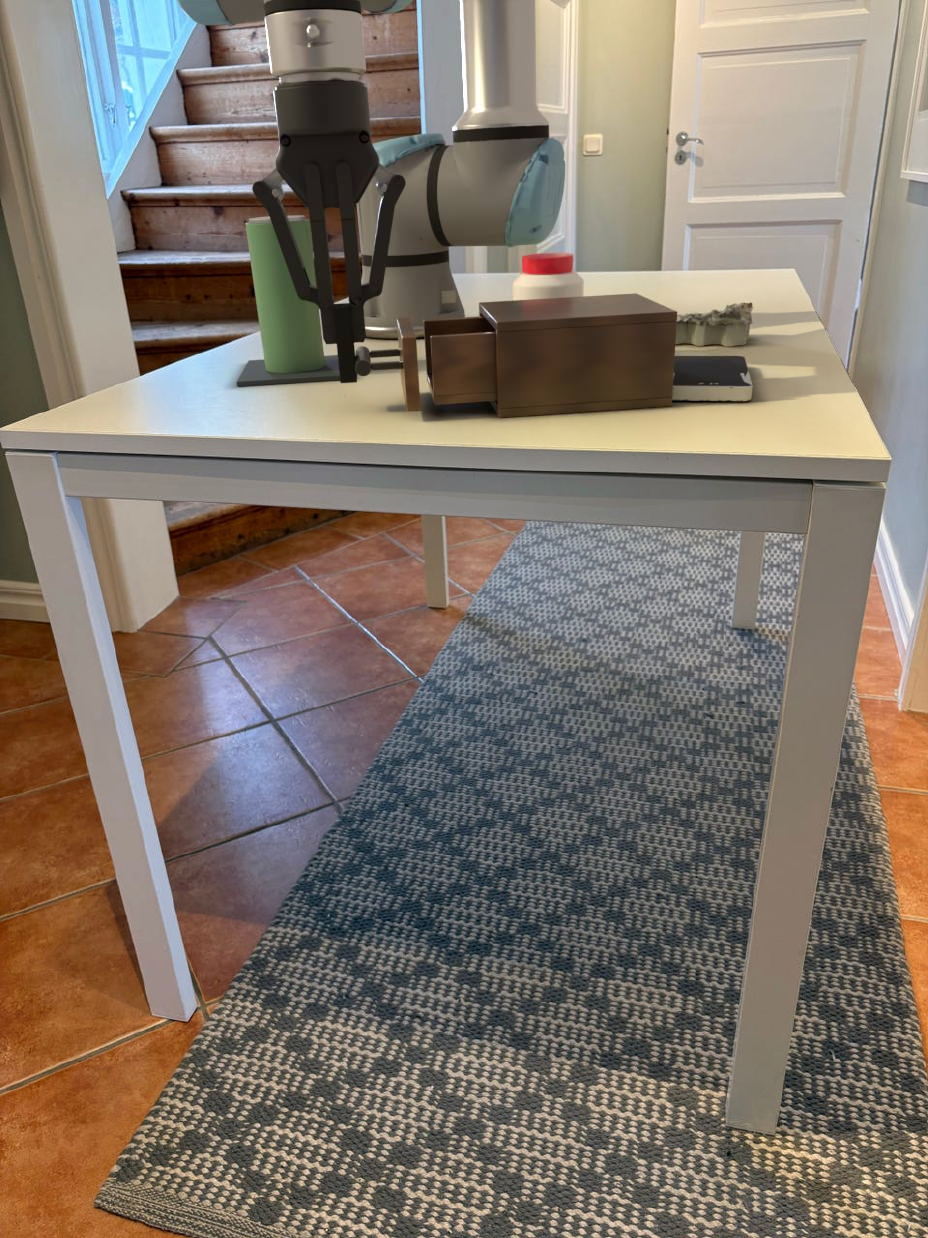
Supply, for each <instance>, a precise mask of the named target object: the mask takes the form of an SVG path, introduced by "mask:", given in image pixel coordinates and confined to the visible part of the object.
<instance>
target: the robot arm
mask: <svg viewBox="0 0 928 1238" xmlns="http://www.w3.org/2000/svg"><path fill="white" fill-rule="evenodd" d="M412 2H414V0H177V3H178V5H179V7H180V9H181V10H182V11H183V13H184V14H185V15H186V16H187V17H188V18H189V19H190V20H192V21H193V22H195V23H197V24H199V25H203V26H221V25H225V26H226V25H227V26H229V27H233V26H235V25H237V24H245V23H253V22H261V21H264V23H265V32H266V42H267V49H268V50H267V51H268V57H269V67H270V74H271V75H272V76H273V77H274V78H275V79H279V82H278V85H276V86H275V87H274V88H275V89H274V90H273V100H274V109H275V119H276V125H277V135H278V142H279V143H278V152H277V154H276V156H275V163H274V164H275V168H274V169H273V170H272V171H270V173H268V174H267V175H265V176H264V177H263V178H262V179H261V180H257V181H255V182H254V183H253V184H252V187H251V189H252V193H253V195H254V196H255V197H256V198H257V199H258V201H259V203H260V204H261V205H262V207H263V208H264V209H265V211H266V212H267V214H268V217H270V219H271V222H272V225H273V228H274V231H275V234H276V236H277V239H278V242H279V245H280V248H281V250H282V253H283V256H284V259H285V262H286V265H287V267H288V270H289V273H290V276H291V279H292V281H293V284H294V287H295V290H296V293H297V296H298V297H299V298H300V299H301V300H303V301H305V300H306V301H309V302H312V303H315V304H316V305H317V306H318V307H319V314H320V323H321V332H322V340H323V341H324V343H325V345H336V353H337V355H338V363H339V372H340V380H339V381H340V384H352V383H358V374H357V373H356V370H355V352H356V350H355V343H365V341H366V338H372V339H373V338H374V339H398V329H397V318H406V317H409V319H410V321H411V324H412V327H413V330H414V333H415V336H416V339H417V338H424V320H428V319H445V318H462V317H466V313H465V308H464V305H463V302H462V299H461V296H460V294H459V291H458V288H457V285H456V283H455V279H454V277H453V274H452V271H451V267H450V265H451V264H450V247H507V248H508V249H509V248H514V247H517V246H531V245H538V244H541V243H543V242H544V241H545V240H546V239H547V238H548V237H549V236H550V235H551V232H552V231H553V230H554V227H555V226H556V223H557V220H558V217H559V214H560V211H561V207H562V203H563V196H564V192H565V191H564V189H565V183H566V182H565V181H566V161H565V150H564V146H563V144H562V142H561V141H560V140H558V139H555V138H554V137H550V121H549V120H548V119H547V117H545V115H543V114H542V112H541V111H540V110H539V109H538V106H537V52H536V51H537V49H536V47H537V46H536V45H537V44H536V41H537V40H536V39H537V38H536V37H537V36H536V32H537V31H536V0H459V11H460V13H459V14H460V37H461V59H462V60H461V61H462V83H463V85H462V86H463V108H464V109H463V112H462V114H461V116H460V117H459V118H458V120H457V121H456V122H455V124H454V125H453V126H452V144H449V145H448V144H446V140H445V137H444V136H443V134H442V133H440V132H429V133H419V134H415V135H407V136H401V137H397V138H392V139H387V140H383V141H377V142H374V143H373V140H372V131H371V128H372V127H371V117H370V115H371V114H370V103H369V90H368V86H366V84H365V83H364V82H361V81H360V76H363V75H364V74H365V73H366V72H367V65H366V64H367V63H366V52H365V51H366V50H365V36H364V26H363V15H362V10H363V11H367V12H369V13H370V14H373V15H378V14H395V13H396V12H397V13H398V12H400V11H402V10H404V9H406V8H407V7H408V6H409V5H411V4H412ZM283 181H284V182H285V183H286V185H287V186H288V187H289V188H290V189H291V191H292V192H293V193H294V194H295V196H296V197H297V199H299V200H300V202H301V203H302V204H303V205H304V206H305V207H306V208H307V209H308V216H309V223H310V232H311V241H312V250H313V259H314V268H315V278H316V286H312V285H311V283H310V280H309V278H308V275H307V272H306V269H305V266H304V263H303V260H302V257H301V254H300V252H299V249H298V246H297V243H296V240H295V237H294V234H293V231H292V228H291V225H290V223H289V220H288V217H287V216H288V214H287V212H286V209H285V206H284V205H283V203H282V201H283V199H284V197H285V190H284V188H283ZM355 206H356V207H355ZM331 207H333V208H336V209H339V214H340V216H339V217H340V224H341V233H342V246H343V255H344V266H345V277H346V285H347V298H348V302H344V303H343V302H342V303H335V299H334V296H335V295H334V288H333V287H334V286H333V276H332V268H331V258H330V247H329V237H328V228H327V214H326V209H329V208H331ZM356 211H357V212H356ZM356 213H357V218H356ZM357 222H358V228H357ZM357 229H358V230H357ZM358 234H359V240H358ZM359 244H360V245H359ZM359 246H360V252H359ZM360 254H361V255H360ZM360 256H361V263H360ZM361 266H362V267H361ZM361 268H362V275H361Z"/></svg>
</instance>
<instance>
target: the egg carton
mask: <svg viewBox="0 0 928 1238" xmlns="http://www.w3.org/2000/svg"><path fill="white" fill-rule="evenodd" d="M753 308H754V307H753V302H740V303H732V304H728V305H727V304H726V306H725V308H724V309H723V310H718V309H712V310H711V311H710V312H705V313H701V312H693V313H684V314H678V315H677V328H676V344H675V345H679V344H689V345H690V344H691V345H694V346H697V347H704V346H707V345H708V346H709V345H721V346H724V347H725V348H727V347H736V346H745V345H746V344H747V341H748V340H749V339H750V330H751V325H753V319H752V312H753V310H754V309H753Z"/></svg>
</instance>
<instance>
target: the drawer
mask: <svg viewBox="0 0 928 1238" xmlns="http://www.w3.org/2000/svg"><path fill="white" fill-rule="evenodd" d="M397 329H398V338H397V340H398V341H397V342H398V348H391V349H375V350H374V349H371V350H370V349H369V348H368V347H367V346H363V345H361V346H358V347H357V348H356V350H355V370H356V373H357V376H360V377H367V376H369V375H370V374H371V372H374V371H375V372H376V371H389V370H400V383H401V384H400V385H401V388H402V392H403V393H402V394H403V399H404V404H405V409H406V412H407V413H414V412H421V410H422V408H421V394H420V392H421V391H420V379H419V378H420V377H419V366H418V365H419V362H418V361H419V360H418V347H417V338H416V336H415V333H414V330H413V327H412V324H411V321H410V319H409V317H406V318H397ZM423 338H424V352H425V372H426V383H427V385H428V388H429V391H430V395H431V398H432V400H433V404H434V406H441V405H453V404H454V405H455V404H467V403H468V404H469V403H483V402H484V403H485V402H490V401H497V363H496V330H495V329H494V327H493V326H492V325H491V324H490V323H489V322H488V320H487V319H486V318H485V317H484V316H479V315H478V316H465V317H462V318H445V319H428V320H424V337H423ZM393 357H394V358H395V357H399V360H396V361H379V362H378V361H377V362H372V361H371V360H372V359H377V358H393Z"/></svg>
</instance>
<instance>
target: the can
mask: <svg viewBox="0 0 928 1238" xmlns="http://www.w3.org/2000/svg"><path fill="white" fill-rule="evenodd" d="M287 217H288V220H289V223H290V225H291V228H292V231H293V234H294V237H295V240H296V243H297V246H298V249H299V252H300V254H301V257H302V260H303V263H304V266H305V269H306V272H307V275H308V278H309V280H310V283H311V285H312V286H316V287H317V279H316V270H315V260H314V251H313V242H312V232H311V223H310V219H308V218H307V219H306V216H305V215H301V214H300V215H294V214H293V215H287ZM245 230H246V238H247V245H248V251H249V252H248V253H249V260H250V266H251V275H252V280H253V288H254V289H253V290H254V296H255V302H256V309H257V318H258V325H259V331H260V339H261V346H262V352H263V353H262V354H263V360H264V361H265V368H266V371H268V372H272V373H301V372H308V371H313V370H317V369H320V368H323V367H324V366H325V360H324V356H325V352H324V342H323V332H322V323H321V313H320V309H319V307H318V306H317V305H316V304H315V303H312V302H309V301H306V300H305V301H303V300H301V299H300V298H299V297H298V296H297V293H296V290H295V287H294V284H293V281H292V279H291V276H290V273H289V270H288V267H287V265H286V262H285V259H284V256H283V253H282V250H281V248H280V245H279V242H278V239H277V236H276V234H275V231H274V228H273V225H272V222H271V219H270V217H269V216H260V217H251V218H248V222H245Z"/></svg>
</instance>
